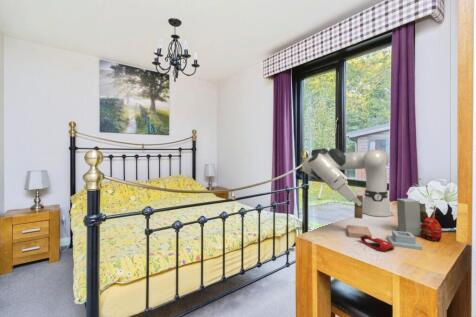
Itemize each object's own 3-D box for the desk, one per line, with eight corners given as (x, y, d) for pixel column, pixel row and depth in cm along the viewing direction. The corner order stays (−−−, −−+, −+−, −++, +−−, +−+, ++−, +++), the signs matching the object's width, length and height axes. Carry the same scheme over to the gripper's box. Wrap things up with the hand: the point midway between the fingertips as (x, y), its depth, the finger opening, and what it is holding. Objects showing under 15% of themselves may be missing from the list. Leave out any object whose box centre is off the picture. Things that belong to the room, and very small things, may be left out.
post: (354, 216, 113) (354, 195, 113) (361, 217, 112) (362, 195, 111) (355, 218, 110) (355, 196, 110) (362, 218, 109) (362, 196, 109)
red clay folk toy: (416, 236, 108) (417, 203, 108) (427, 235, 110) (428, 202, 110) (434, 242, 101) (436, 207, 101) (446, 241, 103) (447, 206, 103)
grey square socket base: (386, 237, 106) (386, 228, 106) (413, 240, 103) (413, 231, 103) (392, 246, 97) (392, 236, 97) (422, 249, 94) (422, 239, 93)
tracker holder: (392, 242, 99) (398, 245, 90) (389, 253, 98) (396, 257, 89) (360, 231, 104) (363, 233, 94) (357, 241, 103) (360, 244, 94)
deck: (346, 228, 118) (346, 224, 118) (367, 231, 115) (367, 226, 115) (348, 236, 107) (348, 232, 107) (371, 239, 104) (371, 235, 104)
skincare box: (421, 236, 108) (422, 201, 108) (403, 235, 110) (404, 200, 109) (411, 230, 116) (413, 198, 116) (395, 229, 118) (396, 197, 117)
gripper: (332, 183, 124) (352, 203, 121) (332, 188, 105) (356, 213, 102) (341, 174, 122) (362, 195, 119) (343, 179, 103) (369, 203, 100)
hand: (360, 203), depth 110 cm, fingers closed on post, 3 cm apart
